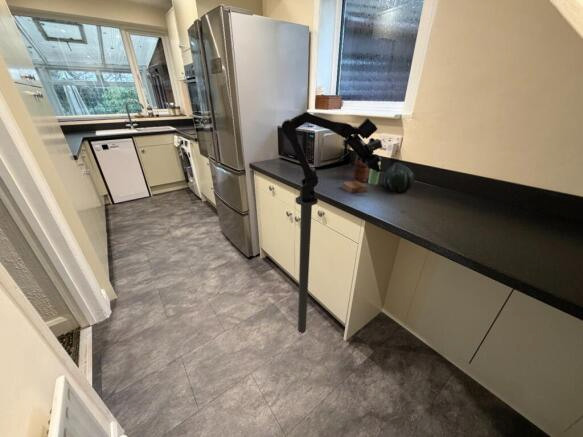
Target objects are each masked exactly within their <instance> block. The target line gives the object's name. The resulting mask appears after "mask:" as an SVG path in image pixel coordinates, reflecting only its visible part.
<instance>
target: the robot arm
mask: <svg viewBox="0 0 583 437" xmlns="http://www.w3.org/2000/svg"><path fill="white" fill-rule="evenodd" d="M306 123H308V124H311V125H313V126H317V127H320V128H322V129H325V130H329V131H331V132H333V133H335V134H336V135H338V136H340V137H342V138H343V139H342V146H343V147H345V148H346V147H347V146H349V147H350V149H351V150H352V151H353V153H354V154H356V155H355V156H356V157H357V158H358V159H359V160H361V162H362V163H364V164H365V165H366V166H367V167H368V168H369V169H373V170H375V171H377V172H381V171H382V170H381V167H380V168H379V165H378V162H381V161H382V158H381V156H380V155H378V154H377V153H375V151H376V150H380V149H382V148H383V142H382V140H381V139H379V138H375V139H374V137H371V136H372V135H373V134H374V133H375V132H377V130H378V126H377V125H376V124H375V123H374V122H372V121H371V120H370V118H367V117H366V118H365V119H364V120H363V122H361V123H360V124H359V125H358V126H355V125H354V126H353V125H352V124H350V123H347V122H343V121H334V120H330V119H328V118H325V117H321V116H318V115H315V114H312V113H310V112H308V111H303V112H302V113H300V114H299V115H296V116H294V117H292V118H291V119H290V118H287V119H284V120H283V121H282V123H281V131H282V133H283V134H284V136H285V137H286V139H287V140H288V141H289V143H290V145H291V147H292V150H293V151H294V153H295V156H296V158H297V160H298V162H299V165H300V167H301V169H302V172H303V179H302V180H300V185H301V187H299V196H300V197H298V196H297V197H298V199H300V200H301V201H302V202H303V203H306V202H311V201H315V199H313V198H314V197H315V187H317V185H318V184H319V179H320V178H319V175H318V173H317V171H316V168H315V167H311V165H310V164H309V161H308V159H307V157H306V155H305V152H304V150H303V147H302V145H301V143H300V141H299V138H298V133H297V129H299V128H300V127H301V126H303V125H304V124H306ZM370 137H371V138H370ZM363 139H364V140H365V139H366V140H367V139H368V142H367V143H366V142H365V141H364V140H363ZM356 157H355V158H356Z"/></svg>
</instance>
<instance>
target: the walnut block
mask: <svg viewBox="0 0 583 437" xmlns="http://www.w3.org/2000/svg"><path fill="white" fill-rule="evenodd" d="M341 186H342V189H343V190H345V191H346V192H348V193H349V194H351V195H352V194H361V193H366V192H367V188H368V186H367V185H366V184H363V182H358V181H354V180H353V181H346V182H345V181H344V182H342V185H341Z"/></svg>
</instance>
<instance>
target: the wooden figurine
mask: <svg viewBox="0 0 583 437" xmlns="http://www.w3.org/2000/svg"><path fill="white" fill-rule="evenodd" d="M354 164H355V167H354V171H353V172H354V173H353V181H358V182H360V183H365V182H368V181H369V175H370V169H369V168H368V167H367V166H366V165H365V164H364V163H362V162H361V160H359V159H358V158H357V157H355V161H354Z"/></svg>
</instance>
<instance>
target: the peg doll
mask: <svg viewBox="0 0 583 437" xmlns="http://www.w3.org/2000/svg"><path fill="white" fill-rule="evenodd" d="M381 163H382V162H381V161H380V162H378V165H379V168H380V169H381V165H382V164H381ZM380 172H381V171H380ZM380 172H377V171H375V170H373V169H370V175H369V180H368V181H367V182H368V184H370V185H378V183H379V178H380Z"/></svg>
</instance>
